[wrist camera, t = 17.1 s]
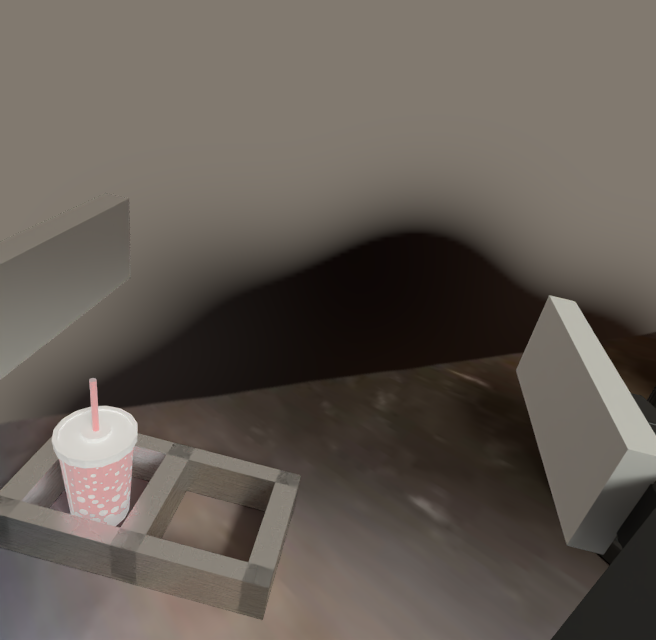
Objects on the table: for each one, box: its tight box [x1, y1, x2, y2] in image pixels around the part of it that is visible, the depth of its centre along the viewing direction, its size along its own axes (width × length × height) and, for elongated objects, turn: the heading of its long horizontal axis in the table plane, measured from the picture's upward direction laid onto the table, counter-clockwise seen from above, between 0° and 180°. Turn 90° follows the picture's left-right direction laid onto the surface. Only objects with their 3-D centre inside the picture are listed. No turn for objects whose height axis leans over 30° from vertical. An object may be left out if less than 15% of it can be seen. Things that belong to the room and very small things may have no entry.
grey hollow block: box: [0, 433, 301, 620], centre depth 43 cm, size 22×11×4 cm, turn 80°
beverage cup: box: [52, 378, 138, 526], centre depth 40 cm, size 6×6×14 cm
